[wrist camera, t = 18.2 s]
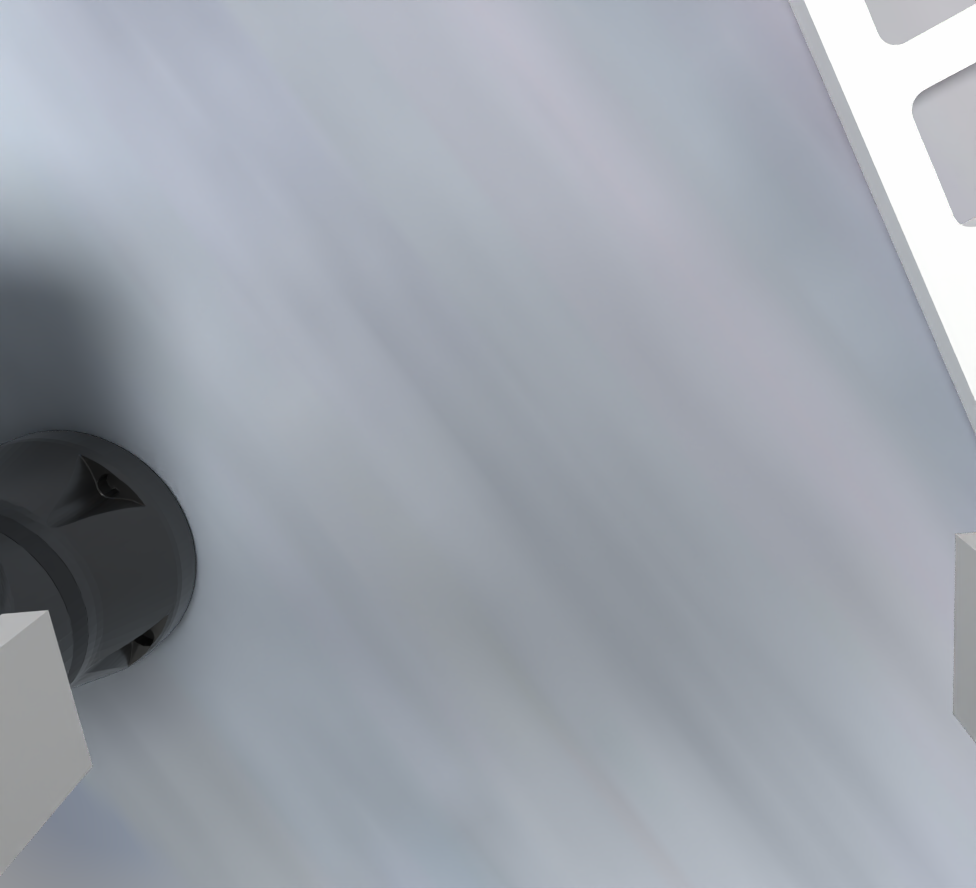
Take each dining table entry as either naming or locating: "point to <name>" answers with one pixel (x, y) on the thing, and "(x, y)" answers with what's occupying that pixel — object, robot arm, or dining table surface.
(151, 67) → the dining table surface
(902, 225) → the holder
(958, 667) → the robot arm
